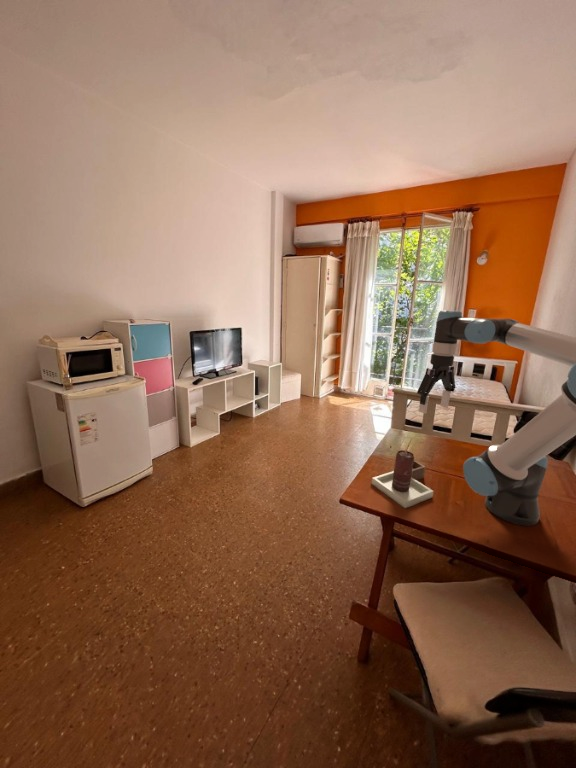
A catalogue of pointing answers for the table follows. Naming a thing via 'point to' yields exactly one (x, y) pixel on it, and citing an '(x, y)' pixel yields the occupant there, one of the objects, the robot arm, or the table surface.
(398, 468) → the can
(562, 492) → the table surface
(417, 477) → the square wooden box
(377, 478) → the tray
